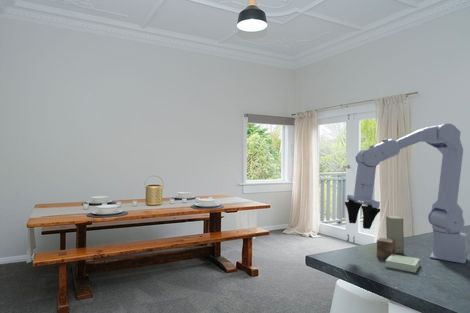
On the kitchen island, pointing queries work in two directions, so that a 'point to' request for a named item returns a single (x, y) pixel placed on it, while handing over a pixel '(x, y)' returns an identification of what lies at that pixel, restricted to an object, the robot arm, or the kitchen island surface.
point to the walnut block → (385, 247)
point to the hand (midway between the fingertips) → (359, 225)
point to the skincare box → (395, 232)
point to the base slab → (403, 263)
